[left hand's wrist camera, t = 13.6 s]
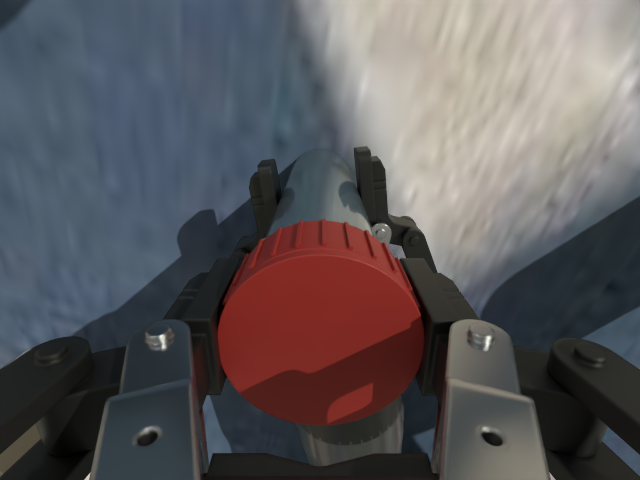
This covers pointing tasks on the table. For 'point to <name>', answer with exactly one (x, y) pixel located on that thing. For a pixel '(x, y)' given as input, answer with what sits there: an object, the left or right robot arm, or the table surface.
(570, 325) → the table surface
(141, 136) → the table surface
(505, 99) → the table surface
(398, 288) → the lid
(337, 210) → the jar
